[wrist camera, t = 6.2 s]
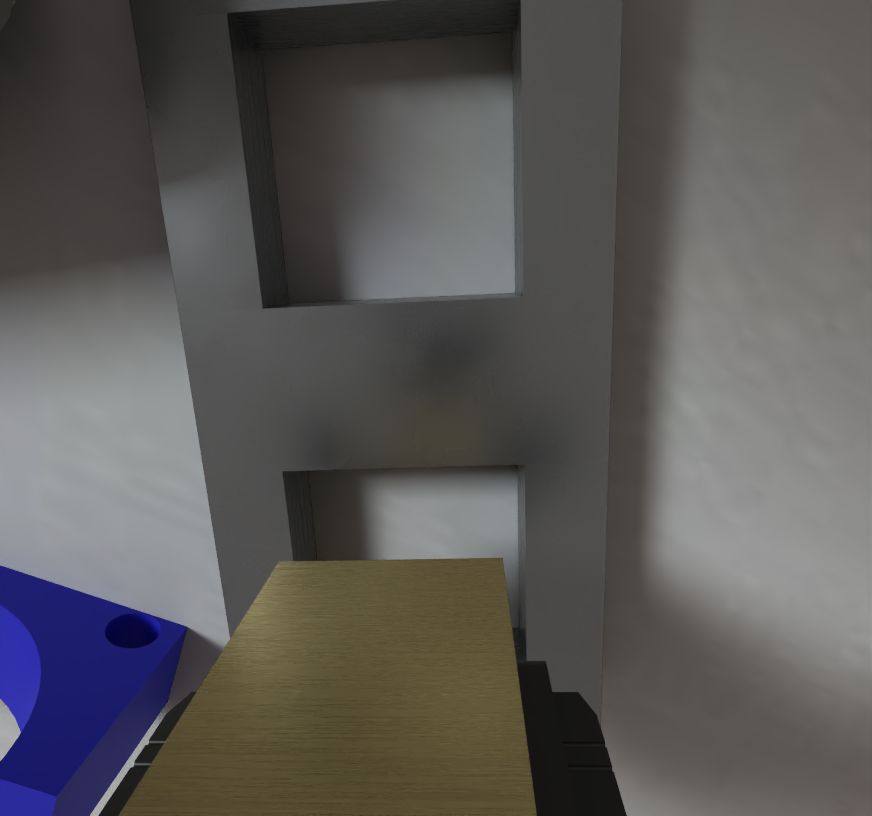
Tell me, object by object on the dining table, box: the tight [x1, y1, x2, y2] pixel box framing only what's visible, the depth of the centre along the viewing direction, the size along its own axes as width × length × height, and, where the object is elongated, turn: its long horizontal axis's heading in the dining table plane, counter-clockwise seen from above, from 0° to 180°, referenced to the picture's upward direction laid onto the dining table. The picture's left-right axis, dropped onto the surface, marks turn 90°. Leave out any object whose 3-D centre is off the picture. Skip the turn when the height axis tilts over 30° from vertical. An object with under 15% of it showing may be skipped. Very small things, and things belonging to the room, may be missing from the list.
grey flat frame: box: [130, 0, 623, 727], centre depth 14 cm, size 20×10×2 cm, turn 3°
